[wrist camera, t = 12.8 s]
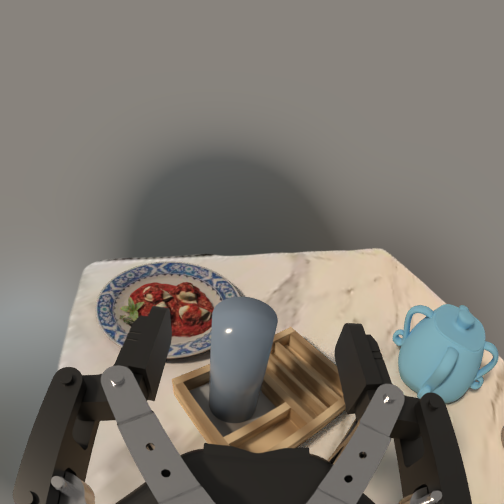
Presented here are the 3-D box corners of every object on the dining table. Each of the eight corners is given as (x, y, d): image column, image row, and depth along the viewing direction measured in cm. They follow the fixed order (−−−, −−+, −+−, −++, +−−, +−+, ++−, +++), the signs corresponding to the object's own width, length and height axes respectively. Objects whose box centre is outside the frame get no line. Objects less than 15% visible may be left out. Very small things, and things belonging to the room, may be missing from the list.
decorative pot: (473, 408, 33) (521, 351, 27) (400, 416, 34) (449, 353, 27) (447, 345, 48) (479, 290, 41) (381, 341, 48) (411, 279, 42)
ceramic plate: (226, 268, 64) (227, 256, 63) (258, 359, 43) (261, 346, 42) (107, 271, 57) (105, 259, 56) (88, 367, 36) (83, 354, 34)
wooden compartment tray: (286, 342, 46) (290, 327, 45) (354, 401, 36) (363, 387, 35) (174, 393, 35) (171, 379, 33) (240, 483, 25) (243, 475, 23)
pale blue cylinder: (238, 379, 38) (251, 290, 31) (265, 409, 34) (290, 324, 27) (199, 396, 34) (200, 307, 27) (226, 431, 30) (237, 348, 23)
